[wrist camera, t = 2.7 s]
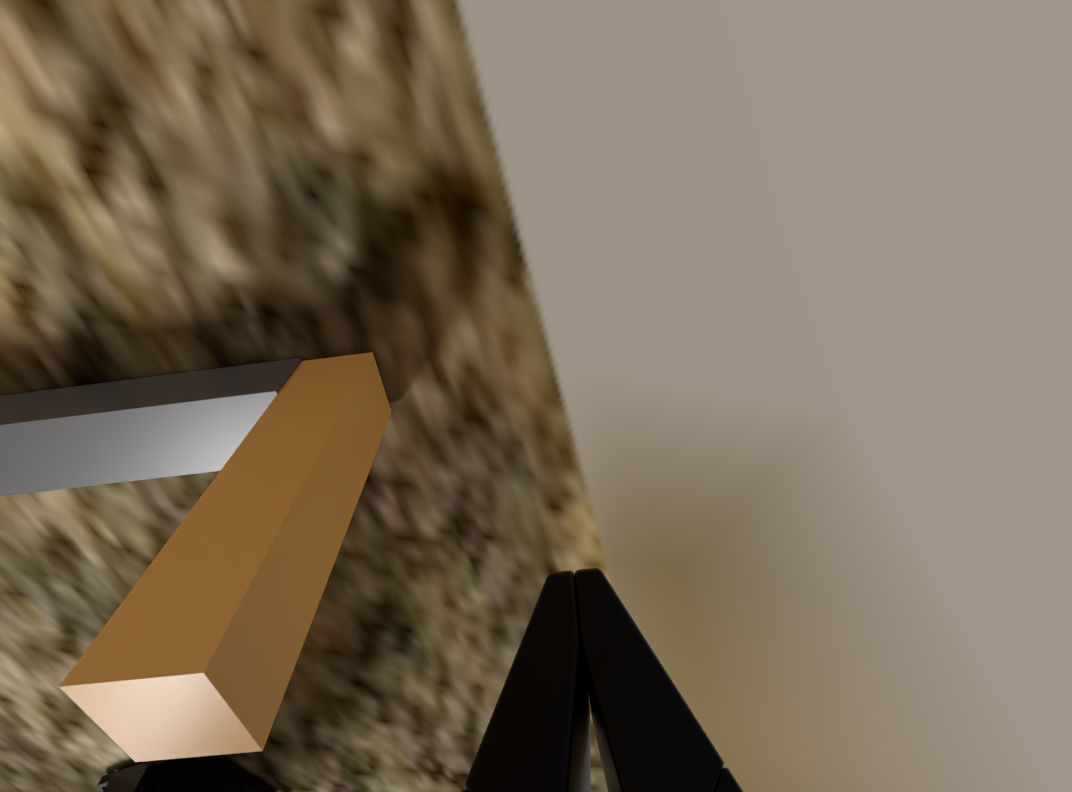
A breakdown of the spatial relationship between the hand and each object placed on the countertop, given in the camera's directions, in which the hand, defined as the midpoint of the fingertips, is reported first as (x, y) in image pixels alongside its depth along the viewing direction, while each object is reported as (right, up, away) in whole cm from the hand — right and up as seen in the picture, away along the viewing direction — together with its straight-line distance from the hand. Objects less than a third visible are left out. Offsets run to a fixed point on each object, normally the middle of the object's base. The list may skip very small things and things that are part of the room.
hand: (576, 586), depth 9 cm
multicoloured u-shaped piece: (-14, +2, +7) cm, 16 cm away
